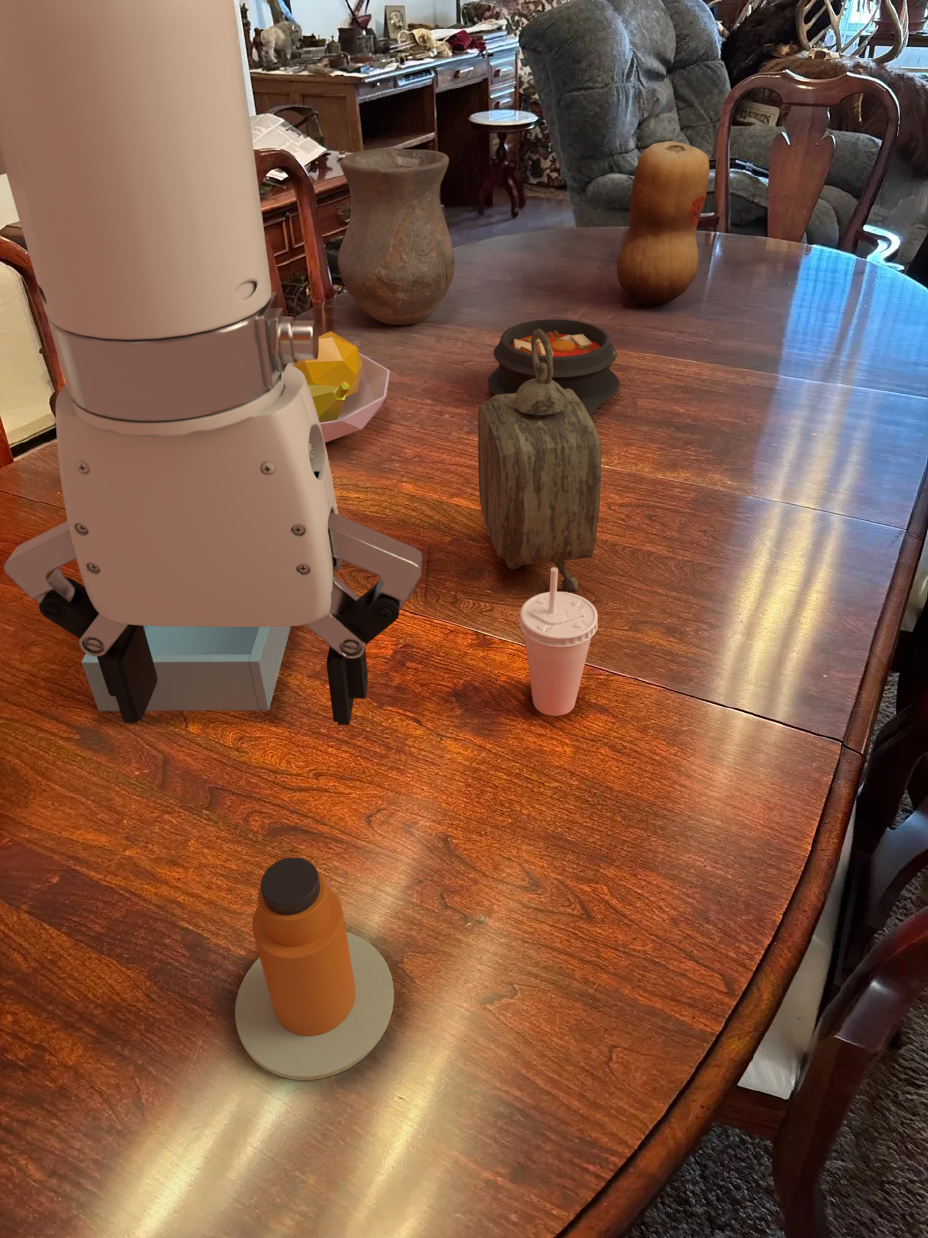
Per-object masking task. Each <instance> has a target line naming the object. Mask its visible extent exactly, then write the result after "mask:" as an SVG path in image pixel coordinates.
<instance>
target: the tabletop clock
mask: <svg viewBox="0 0 928 1238" xmlns="http://www.w3.org/2000/svg"><path fill="white" fill-rule="evenodd" d="M537 338H539V339H540V341H541V343H542V345H543V347H544V350H545V354H546V359H547V365H548V376H547V365H546V364H545V363H542V362H541V363H539V360H538V356H537V352H536V341H537ZM531 349H532V361H533V365H534V369H535V372H536V379H531V380H529V381H527V382H525V383H524V384H522V385H521V386H520V387H519V389H518V391H517V393H512V394H501V395H494V396H492V397H490V398H489V399H488V400H487V401H485V402H484V403H482V404H480V406H478V418H477V428H478V429H477V442H478V443H477V448H478V449H477V459H478V461H477V462H478V464H477V465H478V491H479V492H478V493H479V504H480V509H481V513H482V517H483V519H484V522H485V526H486V529H487V532H488V536H489V538H490V540H491V543H492V546H493V548H494V550H495V553H496V555H497V556H498V557H499V558H501V559H504V560H505V564H506V566H507V568H508V569H510V570H513V571H514V570H518V569H519V568H520V566H528V565H536V564H545V563H553V564H554V565H555V567H556V568H557V569H558V572H559V573H560V574H561V576H562V577H563V580H562V585H561V586H562V587H561V588H562V590H563V591H564V592H568V593H574V592H576V591H577V590H578V588H579V581H578V580H577V578H575V577H574V576H570V574H569V572H568V569H567V566H566V564H565V561H572V560H573V561H574V560H581V559H591V558H593V554H594V552H595V548H596V541H597V535H598V524H599V518H600V517H599V515H600V505H601V504H600V503H601V487H602V484H601V483H602V444H601V440H600V437H599V436H600V435H599V433H598V430H597V428H596V425H595V423H594V420H593V419H592V417H591V415H590V416H589V414H588V412H587V410H586V408H585V406H584V404H583V403H582V402H581V400H580V399H579V398H578V397H577V395H576V394H575V393H574V392H573V390H571V389H563V388H562V387H561V386H560V385H559V384H558V383H556V382H555V381H553V380H552V376H553V357H552V350H551V346H550V342H549V340H548V338H547V336H546V334H545V333H544V332H543V331H542V330H541V329H536V330H535V331H534V332H533V334H532V343H531Z"/></svg>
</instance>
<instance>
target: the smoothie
mask: <svg viewBox="0 0 928 1238" xmlns="http://www.w3.org/2000/svg"><path fill="white" fill-rule="evenodd" d="M558 574H559V569H558V567H557V566H555V567H551V568H550V577H549V579H550V580H549V591H547V592H542V593H539V594H535V595H534V596H532V597H530V598H529V599H527V600H526V601H524V603H523V604H522V606H521V609H520V613H519V621H518V623H519V628H520V630H521V631H522V632H523V634H524V642H525V649H526V658H527V666H528V675H529V683H530V690H531V698H532V704H533V706H534V708H535V709H536V711H538V712H540V713H541V714H544V715H546V716H550V717H552V716H553V717H560V716H564V715H566V714H568V713H570V712H572V710H573V709H574V708H575V705H576V702H577V697H578V693H579V690H580V685H581V681H582V677H583V673H584V668H585V665H586V660H587V656H588V653H589V648H590V646H591V640H592V637H594V636H595V635H596V632H597V630H598V628H599V621H598V620H599V614H598V611H597V609H596V607H595V605H594V604H593V603H592V602H590V601H589V600H588V599H586V598H585V597H583V596H581V595H578V594H575V593H573V592H570V593H569V592H566V591H558Z"/></svg>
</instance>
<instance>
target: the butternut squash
mask: <svg viewBox="0 0 928 1238" xmlns="http://www.w3.org/2000/svg"><path fill="white" fill-rule="evenodd" d="M709 177H710V161H709V155H708V154H707V153H706V152H704V151H703V150H701V149H700V148H697V147H695V146H691V145H689V144H686V143H683V142H677V141H672V140H669V141H664V142H656V143H653V144H651V145H650V146H648V147H647V148H645V149H644V150H643V151H642V153H641V154H640V156H639V159H638V161H637V164H636V167H635V172H634V177H633V181H632V184H631V190H630V191H631V192H630V198H629V201H630V203H629V225H628V226H629V227H628V233H627V236H626V239H625V240H624V242H623V245H622V247H621V250H620V252H619V255H618V257H617V260H616V274H617V281H618V283H619V285H620V287H621V289H622V291H623V293H624V294H626V296H627V297H628V298H629V299H630V300H631V301H632V302H634V303H636V304H637V305H641V306H642V305H643V306H647V305H652V306H653V305H654V306H661V305H666V304H668V303H670V302H673V300H675V299H677V298H679V297H680V296H682V295H684V294H685V293H686V292H687V290H688V288H689V287H690V285H691V284H692V283H693V281H695V279H696V277H697V273H698V268H699V267H698V266H699V256H700V255H699V249H698V245H697V244H698V243H697V236H696V233H697V229H698V224H699V220H700V217H701V215H702V211H703V208H704V206H705V201H706V199H707V192H708V187H709Z"/></svg>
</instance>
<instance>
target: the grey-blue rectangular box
mask: <svg viewBox="0 0 928 1238" xmlns="http://www.w3.org/2000/svg"><path fill="white" fill-rule="evenodd" d="M143 626H144V625H143ZM291 628H292V626H287V627H189V626H144V630H145V633H146V637H147V641H148V644H149V648H150V652H151V655H152V659H153V662H154V666H155V670H156V673H157V684H156V687H155V689H154V692H153V694H152V696H151V699H150V701H149V704H148V706H147V709H146V711H145V712H208V711H211V712H221V711H222V712H225V711H226V712H234V711H236V712H237V711H239V712H240V711H241V712H243V711H246V712H248V711H249V712H251V711H253V712H254V711H256V712H257V711H270V708H271V704H272V701H273V697H274V693H275V689H276V684H277V681H278V677H279V673H280V671H281V665H282V661H283V658H284V655H285V650H286V646H287V643H288V638H289V635H290V631H291ZM80 663H81V666H82V668H83V671H84V674H85V677H86V680H87V683H88V685H89V688H90V691H91V693H92V697H93V699H94V703H95V705H96V707H97V710H98V712H120V709H119V706H118V703H117V700H116V696H110V695H109V693H108V690H107V687H106V684H105V681H104V678H103V675H102V671H101V668H100V665H99V662H98V659H97V656H91V655H88V654H86V653H85V654H84V656H83V658H82V660H81V662H80Z"/></svg>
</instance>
